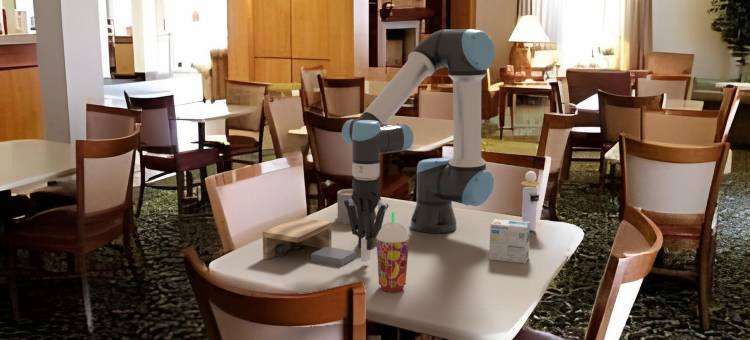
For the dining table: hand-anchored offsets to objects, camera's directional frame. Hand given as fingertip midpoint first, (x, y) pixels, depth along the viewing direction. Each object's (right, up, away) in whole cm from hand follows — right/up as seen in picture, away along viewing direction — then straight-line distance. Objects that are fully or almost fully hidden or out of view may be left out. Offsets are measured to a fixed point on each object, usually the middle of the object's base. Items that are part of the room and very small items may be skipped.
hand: (365, 260), depth 201 cm
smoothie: (+7, -5, -18) cm, 20 cm away
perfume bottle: (+53, +5, +35) cm, 64 cm away
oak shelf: (-20, +1, +10) cm, 22 cm away
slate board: (-9, -1, +5) cm, 11 cm away
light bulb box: (+41, -1, +7) cm, 42 cm away
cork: (0, +2, +19) cm, 19 cm away
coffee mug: (-6, +8, +48) cm, 49 cm away
